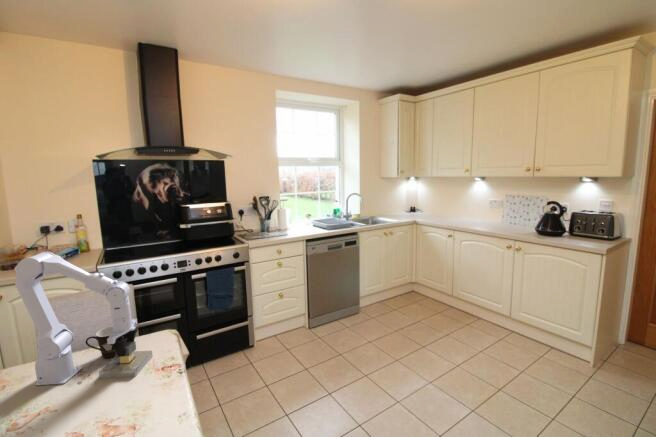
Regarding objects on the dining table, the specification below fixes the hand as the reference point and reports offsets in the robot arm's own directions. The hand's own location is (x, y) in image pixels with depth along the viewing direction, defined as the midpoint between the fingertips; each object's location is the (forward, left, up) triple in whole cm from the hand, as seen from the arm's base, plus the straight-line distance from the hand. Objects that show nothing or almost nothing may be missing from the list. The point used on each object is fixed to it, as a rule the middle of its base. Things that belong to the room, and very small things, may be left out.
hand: (125, 351), depth 111 cm
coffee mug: (-12, +9, -6) cm, 16 cm away
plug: (0, 0, -3) cm, 3 cm away
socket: (0, 0, -6) cm, 6 cm away
